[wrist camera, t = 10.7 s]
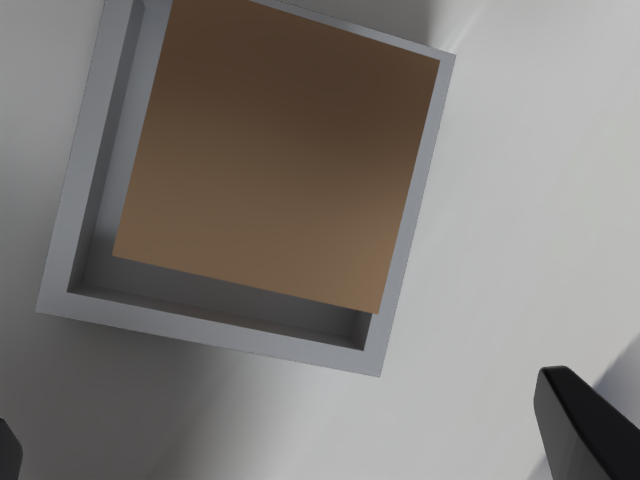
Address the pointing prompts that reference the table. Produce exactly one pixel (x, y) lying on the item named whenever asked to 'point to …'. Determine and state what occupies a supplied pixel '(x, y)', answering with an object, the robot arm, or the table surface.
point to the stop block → (276, 153)
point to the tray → (182, 287)
